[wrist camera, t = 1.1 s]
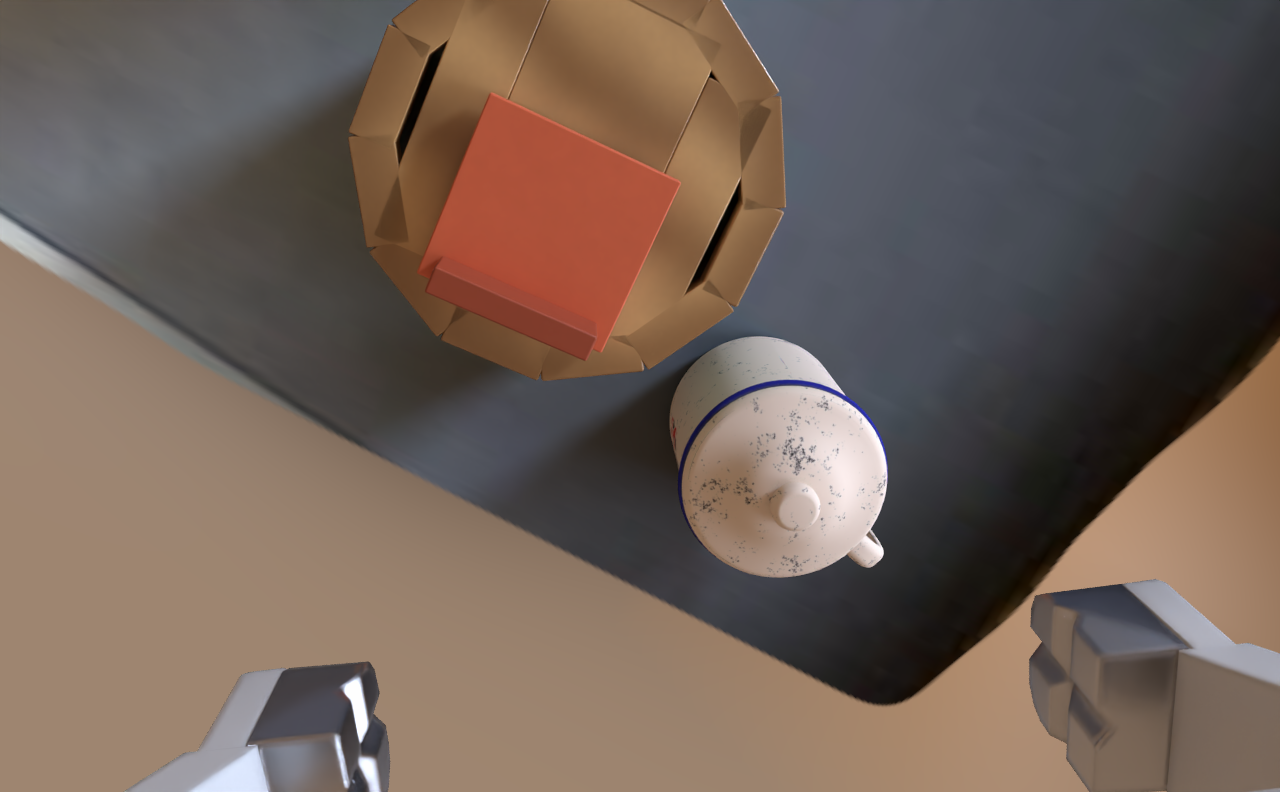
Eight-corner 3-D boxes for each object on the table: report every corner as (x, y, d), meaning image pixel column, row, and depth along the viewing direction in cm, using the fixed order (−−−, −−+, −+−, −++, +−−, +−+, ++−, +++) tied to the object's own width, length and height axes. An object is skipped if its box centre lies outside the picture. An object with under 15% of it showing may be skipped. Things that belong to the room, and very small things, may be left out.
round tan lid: (454, -139, 35) (450, -145, 34) (852, 63, 37) (859, 64, 36) (300, 272, 39) (293, 278, 38) (670, 429, 41) (672, 438, 40)
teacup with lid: (626, 417, 53) (637, 513, 42) (759, 292, 51) (807, 357, 40) (784, 565, 56) (833, 692, 45) (914, 452, 54) (998, 555, 43)
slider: (491, 91, 36) (484, 94, 33) (680, 180, 37) (687, 189, 34) (418, 270, 37) (406, 285, 35) (601, 349, 39) (602, 369, 36)
